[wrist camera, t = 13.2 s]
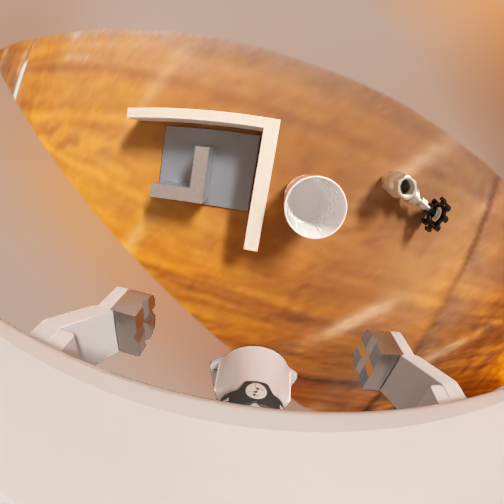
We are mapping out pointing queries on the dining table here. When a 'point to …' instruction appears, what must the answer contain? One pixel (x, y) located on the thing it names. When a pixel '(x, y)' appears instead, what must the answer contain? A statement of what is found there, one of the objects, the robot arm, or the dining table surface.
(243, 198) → the mat
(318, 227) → the white cup
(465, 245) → the dining table surface
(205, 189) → the bracket
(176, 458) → the robot arm
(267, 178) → the corner walls
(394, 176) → the valve
